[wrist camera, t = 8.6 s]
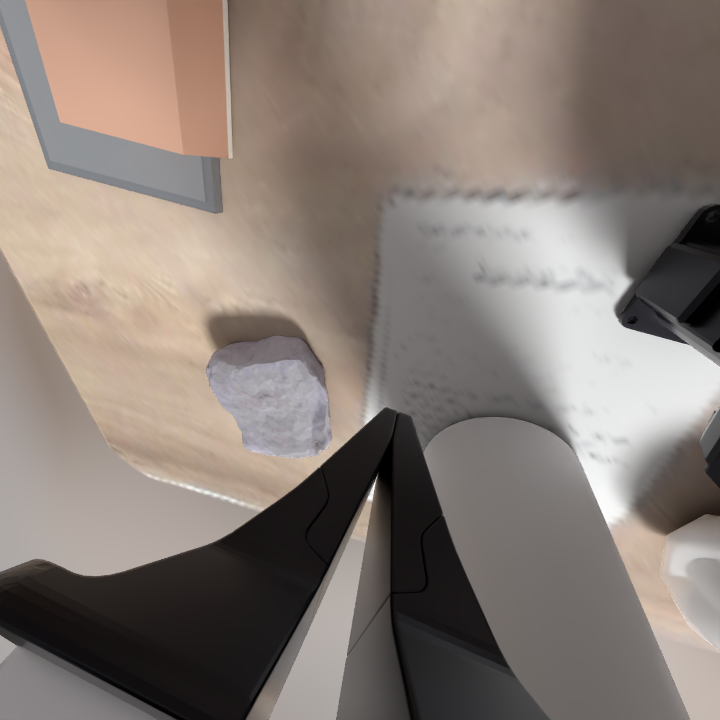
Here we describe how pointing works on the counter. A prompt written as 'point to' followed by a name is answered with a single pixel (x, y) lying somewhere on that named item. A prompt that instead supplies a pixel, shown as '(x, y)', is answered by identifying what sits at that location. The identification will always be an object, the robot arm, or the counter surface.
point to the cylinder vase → (549, 572)
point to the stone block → (274, 395)
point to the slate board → (102, 135)
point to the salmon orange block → (140, 70)
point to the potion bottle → (695, 575)
